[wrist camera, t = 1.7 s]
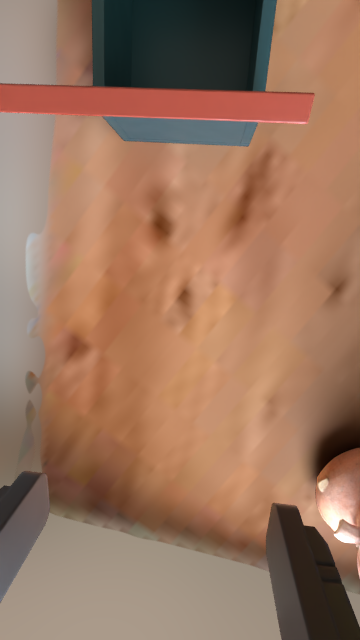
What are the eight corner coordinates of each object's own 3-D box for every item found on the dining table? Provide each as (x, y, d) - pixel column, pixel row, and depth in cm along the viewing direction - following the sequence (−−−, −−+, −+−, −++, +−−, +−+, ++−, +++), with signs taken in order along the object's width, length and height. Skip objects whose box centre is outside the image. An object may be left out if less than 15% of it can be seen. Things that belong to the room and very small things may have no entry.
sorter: (126, -24, 29) (89, -136, 20) (268, -24, 28) (295, -143, 19) (123, 140, 33) (92, 106, 24) (248, 146, 32) (262, 112, 23)
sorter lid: (-58, 81, 11) (-48, 110, 12) (315, 92, 10) (308, 124, 11) (89, 96, 23) (91, 110, 24) (264, 102, 22) (262, 116, 23)
